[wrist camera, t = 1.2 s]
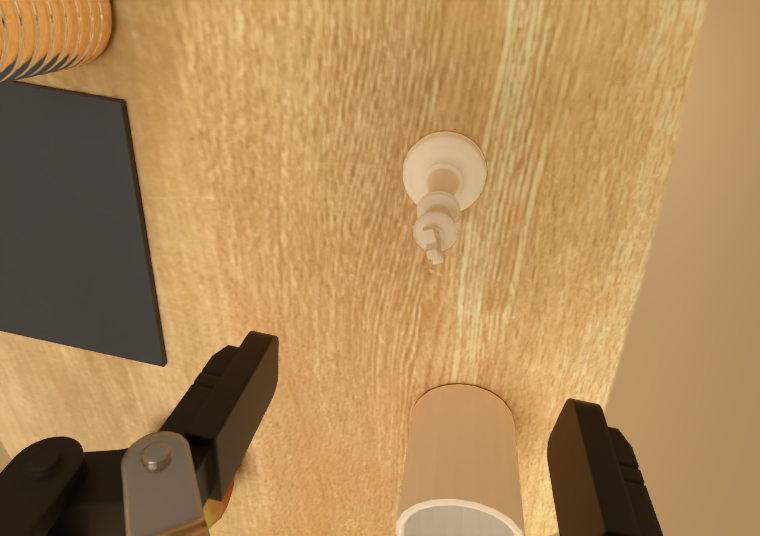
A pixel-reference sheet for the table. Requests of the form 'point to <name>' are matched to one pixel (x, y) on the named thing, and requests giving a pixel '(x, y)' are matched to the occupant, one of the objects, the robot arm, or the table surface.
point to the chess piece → (442, 187)
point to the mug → (461, 467)
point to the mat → (74, 225)
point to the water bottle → (51, 35)
